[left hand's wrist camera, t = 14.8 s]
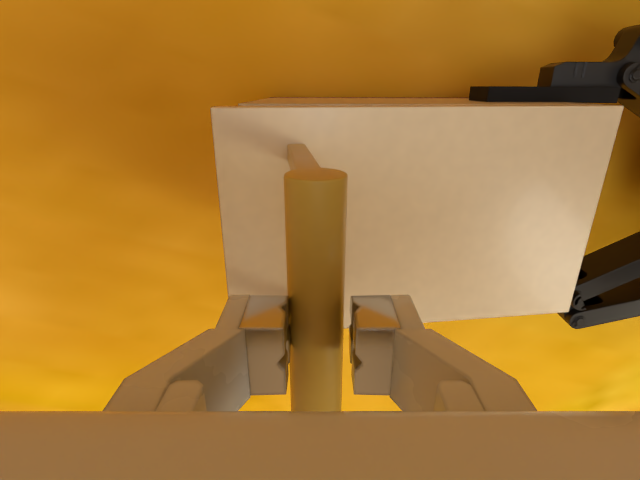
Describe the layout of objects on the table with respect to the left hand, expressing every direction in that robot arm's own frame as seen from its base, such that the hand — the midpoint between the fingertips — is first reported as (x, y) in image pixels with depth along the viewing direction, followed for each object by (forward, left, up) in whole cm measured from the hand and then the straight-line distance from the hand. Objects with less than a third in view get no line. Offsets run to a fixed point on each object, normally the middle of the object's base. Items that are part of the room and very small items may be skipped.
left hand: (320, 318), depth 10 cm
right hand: (+8, -2, -14) cm, 16 cm away
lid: (+4, -1, -8) cm, 9 cm away
